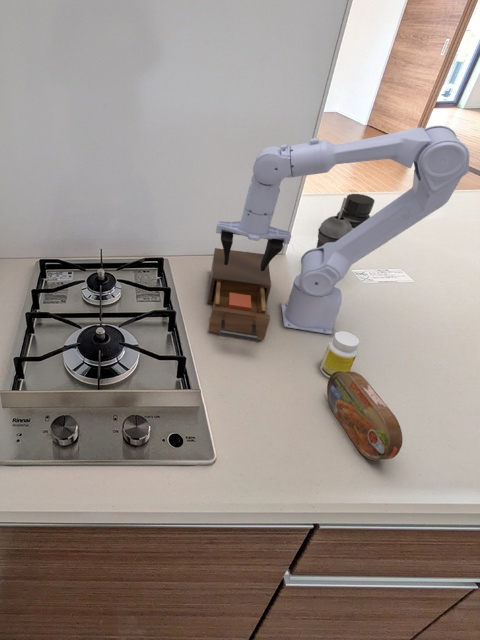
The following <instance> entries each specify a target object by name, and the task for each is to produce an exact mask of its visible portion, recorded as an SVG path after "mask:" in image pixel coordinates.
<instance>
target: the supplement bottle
mask: <svg viewBox="0 0 480 640" xmlns="http://www.w3.org/2000/svg"><path fill="white" fill-rule="evenodd" d="M359 345H360V339H359V338H358V336H356V335H354V334H353V333H351V332H348V331H344V330H343V331H341V330H340V331H336V333H334V335H333V338H332V340H330V341H329V343H328V344H327V347H326V350H325V352H324V354H323V358H322V359H321V362H320V367H319V369H320V371H321V373H322V374H323V376H325V377H326V378H327V379H329V378H330V376H331V375H332V374H333V373H334V372H337V371H343V372H351V369H352V367H353V365H354V362H355V360H356V357H357V355H358V348H359Z"/></svg>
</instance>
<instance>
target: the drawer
mask: <svg viewBox="0 0 480 640" xmlns="http://www.w3.org/2000/svg"><path fill="white" fill-rule="evenodd" d="M229 293H237V294H244V295H251V311H250V312H248V311H242V310H235V309H229V308H227V303H228V298H229ZM266 306H267V304H266V303H265V291H264V287H258V286H251V285H244V284H237V283H229V282H222V281H217V282H216V288H215V294H214V303H213V305H212V307H211V311H210V317H209V322H208V329H207V330H208V331H209V332H215V333H219V337H223V338H229V339H234V340H241V341H247V342H252V343H257V342H258V341H259V340H262V341H264V340H265V339H266V334H267V331H268V328H269V324H270V321H271V314H269V313H268V314H267V307H266Z"/></svg>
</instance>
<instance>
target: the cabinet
mask: <svg viewBox="0 0 480 640" xmlns="http://www.w3.org/2000/svg"><path fill="white" fill-rule="evenodd" d="M263 256H264V253H260V252H259V253H258V252H251V251H250V252H249V251H241V250H233V249H231V250H230V253H229V260H228V265H224V259H225V256H224V249H223V248H217V247H214V251H213V257H212V263H211V267H210V268H211V269H210V278H209V285H208V297H207V305H212V306H213V303H214V294H215V288H216V282H217V281H222V282H229V283H237V284H244V285H251V286H258V287H264V291H265V303H266V305H267V303H268V299H269V296H270V292H271V288H272V282H271V272H270V263H269V264H268V265H267V267H266V269H265V270H264V271H261V262H262V259H263Z"/></svg>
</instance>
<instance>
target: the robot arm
mask: <svg viewBox="0 0 480 640" xmlns="http://www.w3.org/2000/svg"><path fill="white" fill-rule="evenodd" d="M382 160H383V161H384V160H392V161H393V162H396V163H398V164H400V165H402V166H404V167H406V168H408V169H412V167H413V166H414V170H413V171H414V172H413V177H412V178H413V179H412V187H411V188H410V189H408V190H407V191H405V192H404V193H402V194H401V195H400V196H398V197H397V198H395V199H394V200H393V201H391V202H390V203H389V204H387V205H386V206H384V207H382V208H381V209H380V210H379V211H377V212H376V213H374V214H373V215H371V216H370V218H369V219H367V220H366V221H364V222H363V223H361V224H360V225H359V226H357V227H356V228H354V229H353V230H352V231H350V232H349V233H347V234H346V235H344V236H343V237H342V238H340V239H339V240H337V241H336V242H329V243H325V244H324V245H323V246H321V247H318V248H316V247H314V248H311V249H309V250H306V251H305V252H304V253H303V255H302V256H301V258H300V273H299V274H298V275H297V276H296V277H295V278H294V280H293V283H292V286H291V291H290V294H289V296H288V299H287V303H281V307H280V308H281V314H282V320H283V321H282V322H283V323H282V324H283V327H285V328H288V329H295V330H300V331H307V332H313V333H319V334H326V335H333V328H334V325H335V323H336V320H337V319H338V315H339V312H340V309H341V306H342V299H343V295H342V290H341V289H340V288H339V287H335V286H336V284H337V283H339V282H340V281H341V280H343V279H344V278H345V276H346V275H347V273H348V271H349V270H350V269H351V267H352V266H353V265H354V264H355V263H357V262H359V261H360V260H362V259H363V258H364V257H366V256H368V255H370V254H371V253H372V252H374V251H375V250H377V249H379V248H380V247H381V246H384V245H385V244H387V243H388V242H389V241H391V240H393V239H395V238H396V237H397V236H399V235H400V234H402V233H403V232H405V231H407V230H408V229H410V228H411V227H413V226H414V225H416V224H417V223H419V222H420V221H422V220H424V219H425V218H426V217H429V216H430V215H431V214H433V213H434V212H435V211H437V210H439V209H440V208H442V207H443V206H445V205H446V204H447V203H448V202H449V200H450V199H451V197H452V195H453V193H454V192H455V190H456V189H457V187H458V185H459V183H460V181H461V179H462V178H463V177H465V176H466V175H467V174H468V173H469V171H470V151H469V148H468V147H467V145H466V144H465V143H464V142H462V141H460V139H459V138H458V137H457V134H456V133H455V131H454V130H453V129H452V128H450V127H448V126H445V125H431V126H428V127H426V128H424V127H413V128H408V129H405V130H401V131H397V132H392V133H387V134H382V135H377V136H373V137H368V138H363V139H359V140H354V141H348V142H343V143H339V144H333V143H332V142H330V141H329V140H327V139H322V140H319V137H313V138H312V137H311V138H310V140H309V142H305V143H298V144H293V145H292V144H291V145H288V144H287V143H285V144H281V146H280V147H278V146H275V145H273V146H272V145H271V146H268V147H265V148H263V149H262V150H261V151H260V152H259V153H258V155H257V156H256V157H255V161H254V164H253V167H252V176H251V180H250V181H251V183H250V184H249V186H248V190H247V194H246V198H245V202H244V205H243V206H244V207H243V210H242V214H241V219H240V221H223V220H218V221H217V224H216V230H215V233H216V234H220V241H221V242H220V243H221V245H222V249H224V256H225V259H224V265H228V260H229V253H230V250H232V246H233V243H234V235H237V236H242V237H246V238H248V240H250V241H257V242H258V241H260V240H267V242H266V247H265V251H264V253H263V254H264V256H263V259H262V262H261V271H264V270H265V269H266V267H267V265H268V264H269V265H270V262H271V261H272V260H273V259H274V258H275V257H276V256H277V255H278V254H279V253H281V252H282V251H283V248H284V244H285V245H289V244H290V242H291V238H292V233H291V231H288V230H284V229H280V228H277V227H274V226H271V224H272V220H273V217H274V213H275V209H276V206H277V203H278V199H279V195H280V192H281V189H280V188H281V187H280V186H281V183H282V181H284V179H286V178H288V179H291V178H296V177H297V178H298V177H305V176H312V175H319V174H326V173H329V172H330V171H331V170H332V168H334V167H335V166H336V165H343V164H353V163H362V162H371V161H373V162H374V161H382Z"/></svg>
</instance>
